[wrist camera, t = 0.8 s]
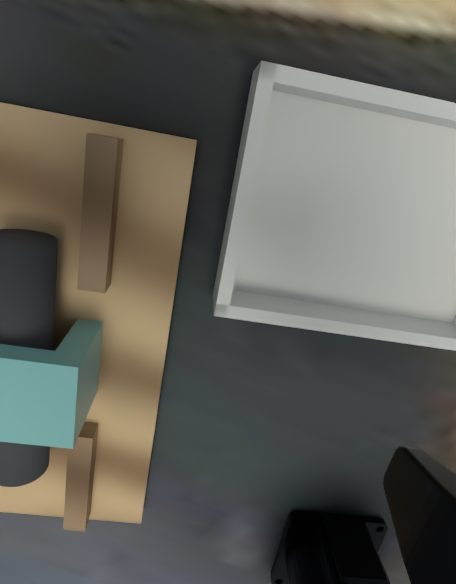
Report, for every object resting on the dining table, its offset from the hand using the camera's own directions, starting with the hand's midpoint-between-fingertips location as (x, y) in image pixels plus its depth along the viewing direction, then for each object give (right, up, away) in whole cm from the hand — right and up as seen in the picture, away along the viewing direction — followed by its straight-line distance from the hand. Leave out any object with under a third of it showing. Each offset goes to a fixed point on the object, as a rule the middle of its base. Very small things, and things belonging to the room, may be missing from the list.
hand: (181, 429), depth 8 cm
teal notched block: (-9, 0, +12) cm, 15 cm away
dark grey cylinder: (-9, 0, +12) cm, 15 cm away
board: (-9, 0, +13) cm, 16 cm away
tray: (+8, +6, +12) cm, 15 cm away
